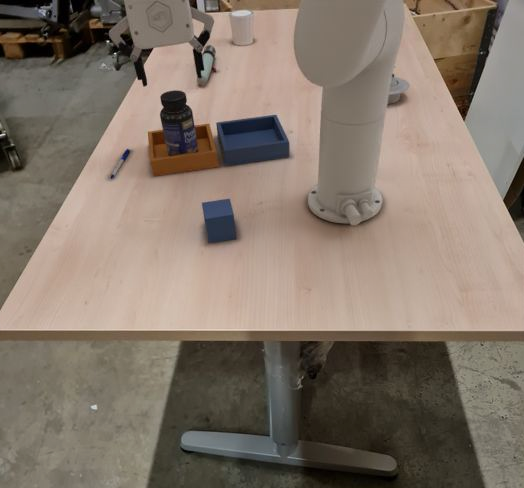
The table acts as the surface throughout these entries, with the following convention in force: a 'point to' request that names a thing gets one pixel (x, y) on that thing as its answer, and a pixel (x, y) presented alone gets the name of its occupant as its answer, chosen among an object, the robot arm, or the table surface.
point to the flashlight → (207, 63)
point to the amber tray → (184, 162)
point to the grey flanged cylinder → (396, 88)
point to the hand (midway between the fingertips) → (172, 79)
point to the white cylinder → (242, 26)
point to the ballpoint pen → (120, 162)
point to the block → (219, 220)
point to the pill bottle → (178, 124)
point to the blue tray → (252, 140)
